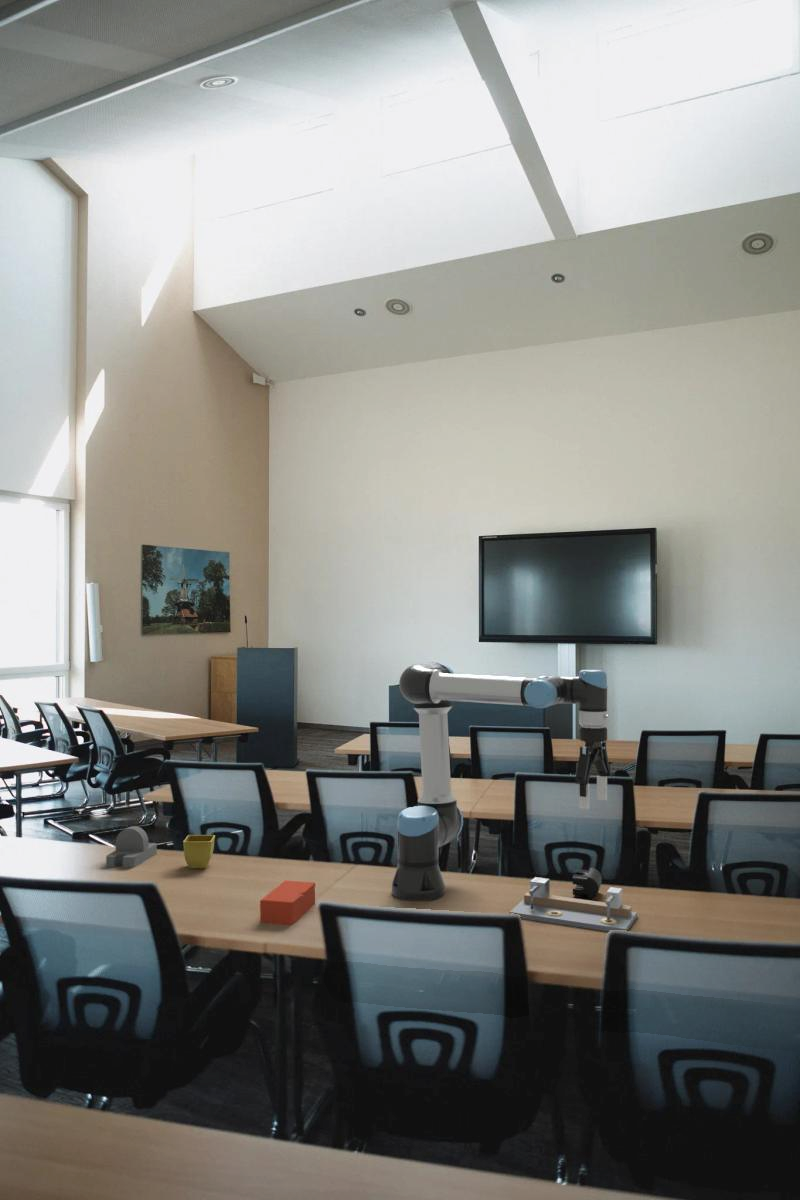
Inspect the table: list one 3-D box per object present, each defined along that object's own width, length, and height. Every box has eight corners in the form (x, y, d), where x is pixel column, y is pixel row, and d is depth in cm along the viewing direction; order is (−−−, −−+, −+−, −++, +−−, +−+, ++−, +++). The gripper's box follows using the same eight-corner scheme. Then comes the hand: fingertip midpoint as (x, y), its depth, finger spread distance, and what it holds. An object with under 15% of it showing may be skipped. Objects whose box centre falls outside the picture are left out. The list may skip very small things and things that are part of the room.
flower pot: (215, 862, 283) (215, 834, 283) (211, 870, 274) (211, 841, 274) (187, 863, 282) (187, 835, 283) (182, 870, 274) (182, 841, 274)
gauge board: (509, 916, 230) (509, 888, 230) (526, 901, 242) (526, 874, 243) (625, 933, 217) (625, 904, 217) (637, 916, 229) (636, 888, 229)
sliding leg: (523, 908, 231) (523, 887, 231) (535, 897, 240) (535, 877, 240) (538, 911, 229) (538, 889, 229) (549, 899, 238) (549, 878, 238)
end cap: (598, 902, 241) (598, 877, 241) (572, 900, 243) (572, 875, 243) (602, 892, 251) (601, 868, 251) (576, 889, 253) (576, 866, 253)
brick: (284, 901, 244) (284, 880, 244) (315, 904, 241) (315, 882, 242) (259, 923, 226) (259, 899, 226) (292, 926, 224) (292, 902, 224)
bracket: (157, 854, 295) (157, 821, 295) (133, 868, 277) (133, 834, 277) (130, 853, 296) (130, 820, 296) (104, 867, 278) (104, 833, 279)
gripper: (589, 732, 229) (590, 814, 229) (621, 722, 250) (621, 797, 250) (562, 730, 233) (562, 810, 233) (596, 721, 254) (596, 794, 254)
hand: (593, 804), depth 241 cm, fingers open, 13 cm apart
